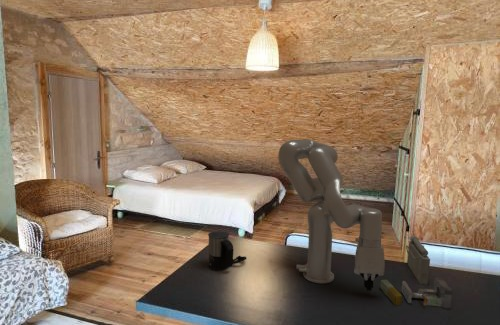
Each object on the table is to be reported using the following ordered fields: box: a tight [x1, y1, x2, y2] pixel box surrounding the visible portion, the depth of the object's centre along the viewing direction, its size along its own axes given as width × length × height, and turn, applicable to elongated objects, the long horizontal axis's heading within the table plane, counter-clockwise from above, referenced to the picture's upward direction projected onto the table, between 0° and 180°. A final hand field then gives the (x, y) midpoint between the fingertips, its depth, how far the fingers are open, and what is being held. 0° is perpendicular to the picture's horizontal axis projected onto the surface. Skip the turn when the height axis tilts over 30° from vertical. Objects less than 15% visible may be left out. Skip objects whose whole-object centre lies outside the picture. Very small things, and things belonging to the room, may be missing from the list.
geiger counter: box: [405, 235, 431, 285], centre depth 145 cm, size 14×6×25 cm
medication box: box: [379, 278, 403, 306], centre depth 124 cm, size 12×3×4 cm, turn 4°
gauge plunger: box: [401, 280, 437, 307], centre depth 121 cm, size 11×10×4 cm
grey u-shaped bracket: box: [420, 276, 453, 309], centre depth 122 cm, size 8×9×7 cm
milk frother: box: [207, 230, 247, 271], centre depth 147 cm, size 14×16×15 cm
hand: (368, 288), depth 125 cm, fingers closed
